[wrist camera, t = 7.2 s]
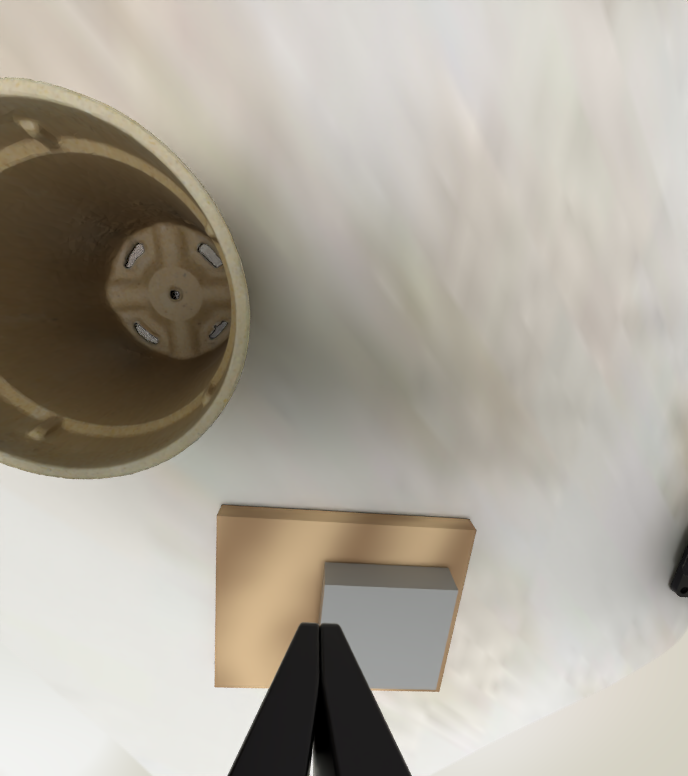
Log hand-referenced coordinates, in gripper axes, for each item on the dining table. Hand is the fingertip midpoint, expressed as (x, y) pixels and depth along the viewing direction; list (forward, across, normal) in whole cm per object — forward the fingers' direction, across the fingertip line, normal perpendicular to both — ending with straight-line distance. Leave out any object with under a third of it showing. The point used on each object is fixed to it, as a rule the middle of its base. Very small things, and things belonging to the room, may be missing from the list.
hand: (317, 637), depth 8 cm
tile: (+10, -1, +11) cm, 15 cm away
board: (+12, -2, +11) cm, 16 cm away
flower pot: (+12, +7, -6) cm, 15 cm away
